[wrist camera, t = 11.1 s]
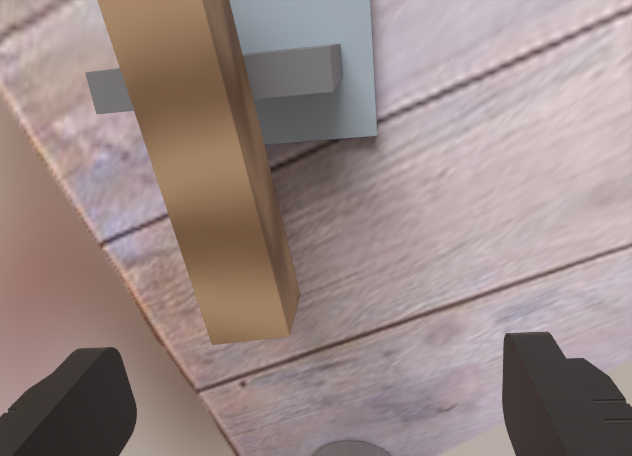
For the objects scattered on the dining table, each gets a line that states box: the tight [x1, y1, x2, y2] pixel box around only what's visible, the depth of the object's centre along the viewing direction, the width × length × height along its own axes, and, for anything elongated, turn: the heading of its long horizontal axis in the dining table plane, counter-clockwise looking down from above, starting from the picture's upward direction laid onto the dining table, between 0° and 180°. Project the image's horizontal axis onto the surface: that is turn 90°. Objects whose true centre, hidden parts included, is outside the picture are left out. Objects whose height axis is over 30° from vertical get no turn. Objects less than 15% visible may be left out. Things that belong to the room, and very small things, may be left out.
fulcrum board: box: [86, 0, 377, 145], centre depth 27 cm, size 10×16×10 cm, turn 96°
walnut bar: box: [98, 0, 300, 345], centre depth 21 cm, size 24×4×4 cm, turn 11°
